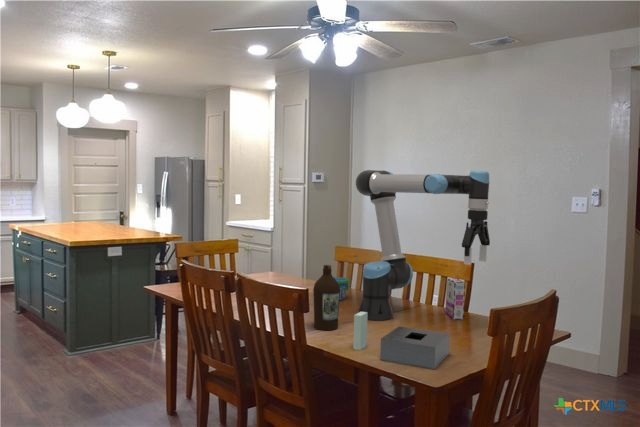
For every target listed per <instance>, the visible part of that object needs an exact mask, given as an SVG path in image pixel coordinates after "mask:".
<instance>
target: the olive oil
mask: <svg viewBox="0 0 640 427" xmlns="http://www.w3.org/2000/svg"><path fill="white" fill-rule="evenodd" d="M322 266H323V268H322V275H321V276H320V277H319V278H318V279H317V280H316V282H315V283H314V286H313V288H312V291H313V312H314V313H313V323H314V324H313V328H314V329H315V330H318V331H324V332H325V331H330V332H331V331H335V330H337V329H338V328H339V313H340V312H339V309H340V301H341V300H340V286H339V283H338V282H337V281H336V280H335V279H334V276H333V274H332V264H323V265H322Z"/></svg>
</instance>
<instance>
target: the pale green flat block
mask: <svg viewBox="0 0 640 427" xmlns="http://www.w3.org/2000/svg"><path fill="white" fill-rule="evenodd" d="M367 314H368V312H359V313H358V312H357V313H355V314H354V315H353V350H356V351H361V350H364V349H365V348H366V347H367V344H368V319H367Z"/></svg>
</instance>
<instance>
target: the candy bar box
mask: <svg viewBox="0 0 640 427" xmlns="http://www.w3.org/2000/svg"><path fill="white" fill-rule="evenodd" d="M445 290H446V292H445V294H446V295H445V315H446V316H448V317H449V318H451V319H452V320H455V321H457V320H459V321H460V320H462V321H463V320H464V319H465V314H464V313H465V296H466V282H465V281H463V280H461V279H459V278H458V277H447V278H446V288H445Z"/></svg>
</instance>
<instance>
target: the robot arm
mask: <svg viewBox="0 0 640 427" xmlns="http://www.w3.org/2000/svg"><path fill="white" fill-rule="evenodd" d="M355 187H356V189H357V191H358V192H359V193H360V194H361V195H363V196H366V197H369V198H370V203H371V204H373V205H374V210H375V215H376V220H377V221H376V222H377V223H376V224H377V228H378V234H379V240H380V241H379V242H380V247H381V253H382V256H381V258H380V260H377V261H370V262H366V263H365V264H364V266H363V272H362V297H361V298H362V299H361V302H360V305H359V306H358V307H359V308H358V311H357V313H359V312H368V314H367V321H368V320H370V321H386V320H387V321H388V320H391V319H393V318H394V311H393V307H392V304H391V301H390V293H391V292H390V291H391V290H397V289H398V290H399V289H403V288H405V287H406V286H409V284H410V283H411V282H412V281H413V277H414V271H413V268H412V265H410V263H409V262H407V260H406V259H407V258H406V255H404V254H403V253H402V248H401V242H400V236H399V229H398V224H397V218H396V216H397V215H396V212H395V205H394V201H395V200H396V198H397V195H396V194H397V193H401V194H402V193H406V194H410V193H411V194H432V195H441V194H442V195H445V194H446V195H447V194H449V195H468V203H467V204H468V205H467V209H468V210H467V219H468V220H470V221H469V222H468V221H467V222H466V227H465V232H464V234H463V238H462V243H461V247H462V248H463V249H464V250H463V251H464V252H463V254H464V256H463V264H464V265H466V266H467V265H468V266H472V257H473V256H472V255H473V252H472V251H473V248H472V245H473V243H474V240H475V238H476V236H477V237H478V238H479V242H480V245H479V257H478V258H479V259H478V261H479V262H487V252H488V251H487V250H488V246H490V244H491V241H490V240H491V239H490V233H489V228H488V221H487V220H488V213H489V212H488V209H489V208H488V207H489V203H490V202H489V192H490V191H489V190H490V189H489V188H490V173H489V171H488V170H471V171H470V172H469V174H468V175H458V174H457V175H455V174H440V173H433V174H421V173H419V174H417V173H416V174H406V173H405V174H403V173H402V174H397V173H393V172H391V171H388V170H371V169H367V170H366V169H365V170H363V171H362V172H360V173H359V174H358V175H357V177H356V179H355Z"/></svg>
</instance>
